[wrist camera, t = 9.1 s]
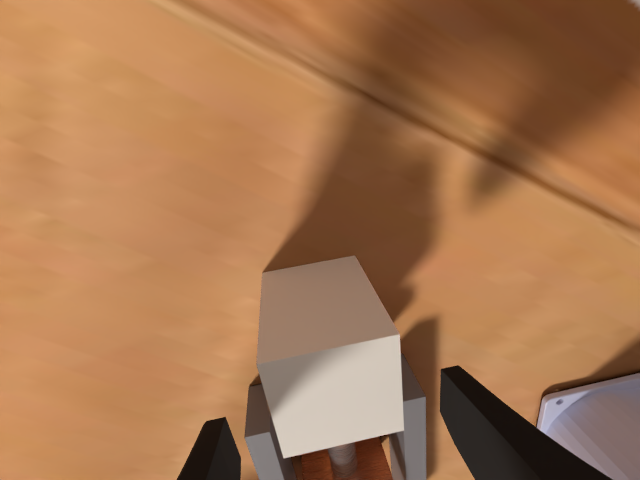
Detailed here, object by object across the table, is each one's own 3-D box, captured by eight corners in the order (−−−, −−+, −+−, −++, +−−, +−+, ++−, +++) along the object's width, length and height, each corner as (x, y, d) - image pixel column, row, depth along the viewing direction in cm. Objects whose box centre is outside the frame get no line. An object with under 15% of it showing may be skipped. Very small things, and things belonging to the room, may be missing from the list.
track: (402, 353, 18) (425, 396, 16) (408, 495, 24) (426, 545, 21) (248, 386, 18) (244, 437, 15) (291, 524, 23) (294, 579, 21)
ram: (376, 330, 17) (404, 389, 14) (386, 448, 21) (410, 519, 18) (267, 352, 17) (265, 420, 13) (298, 469, 21) (303, 546, 17)
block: (354, 254, 16) (399, 334, 10) (362, 329, 17) (404, 430, 12) (262, 272, 15) (256, 364, 10) (280, 346, 17) (283, 458, 12)
